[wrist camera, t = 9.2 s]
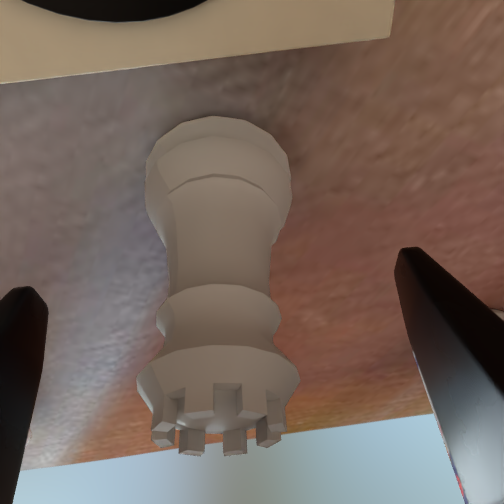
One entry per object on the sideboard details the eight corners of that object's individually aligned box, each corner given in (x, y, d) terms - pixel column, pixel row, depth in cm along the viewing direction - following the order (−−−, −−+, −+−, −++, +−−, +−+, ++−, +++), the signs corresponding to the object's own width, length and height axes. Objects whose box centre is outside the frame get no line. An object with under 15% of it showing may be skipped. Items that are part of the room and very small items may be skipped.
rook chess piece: (118, 177, 13) (47, 446, 8) (209, 73, 11) (199, 352, 5) (225, 241, 15) (229, 479, 10) (318, 167, 13) (388, 425, 8)
